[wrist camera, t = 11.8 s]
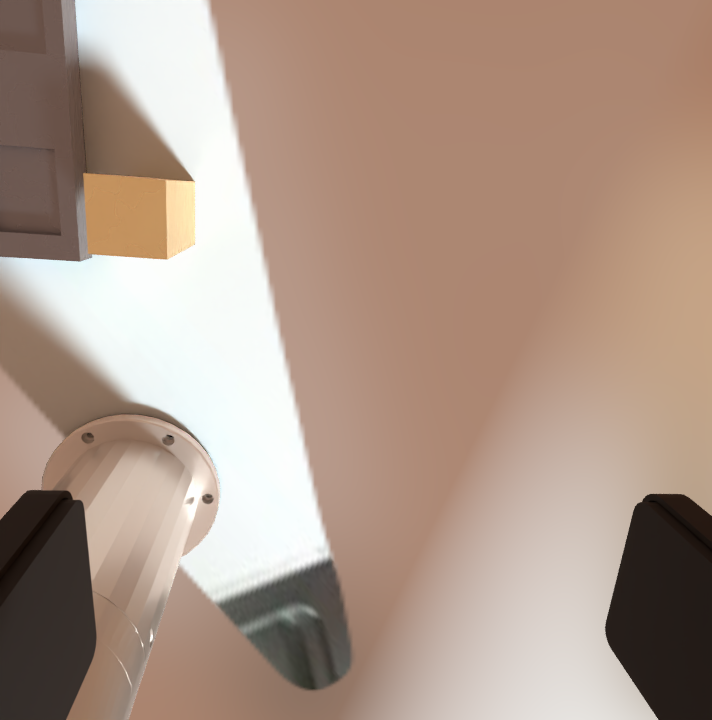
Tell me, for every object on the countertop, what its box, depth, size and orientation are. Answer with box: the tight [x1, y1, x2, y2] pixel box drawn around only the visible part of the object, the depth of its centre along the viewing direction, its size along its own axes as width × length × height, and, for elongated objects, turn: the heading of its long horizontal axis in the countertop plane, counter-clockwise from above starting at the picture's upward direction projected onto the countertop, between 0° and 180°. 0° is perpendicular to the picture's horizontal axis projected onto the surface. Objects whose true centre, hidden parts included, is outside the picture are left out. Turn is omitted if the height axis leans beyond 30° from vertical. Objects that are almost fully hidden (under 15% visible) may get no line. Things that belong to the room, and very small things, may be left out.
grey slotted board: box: [0, 0, 92, 261], centre depth 32 cm, size 18×7×2 cm, turn 176°
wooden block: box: [83, 173, 195, 259], centre depth 32 cm, size 4×4×8 cm
